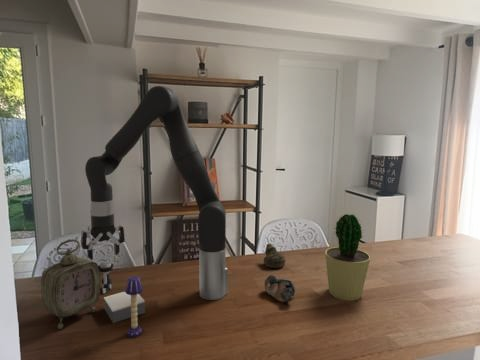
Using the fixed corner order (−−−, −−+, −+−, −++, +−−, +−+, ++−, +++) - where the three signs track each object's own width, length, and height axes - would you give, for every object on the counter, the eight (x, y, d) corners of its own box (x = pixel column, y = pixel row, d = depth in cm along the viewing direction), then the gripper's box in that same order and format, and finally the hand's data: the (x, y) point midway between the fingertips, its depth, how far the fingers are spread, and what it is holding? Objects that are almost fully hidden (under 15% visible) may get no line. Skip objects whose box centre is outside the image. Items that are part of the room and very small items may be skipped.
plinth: (134, 299, 113) (134, 288, 113) (145, 312, 105) (144, 301, 105) (104, 308, 107) (103, 297, 107) (113, 323, 99) (112, 310, 99)
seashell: (282, 245, 151) (260, 246, 150) (288, 239, 141) (265, 239, 140) (284, 271, 147) (262, 271, 145) (290, 266, 136) (267, 266, 135)
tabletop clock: (57, 334, 94) (51, 250, 90) (40, 324, 98) (34, 243, 95) (102, 311, 106) (98, 236, 102) (85, 303, 111) (80, 231, 107)
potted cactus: (369, 288, 124) (374, 210, 119) (365, 307, 110) (372, 220, 105) (327, 280, 130) (331, 206, 126) (319, 297, 116) (323, 214, 112)
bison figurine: (265, 289, 122) (257, 301, 113) (266, 271, 122) (258, 281, 112) (297, 295, 118) (292, 308, 109) (298, 276, 117) (293, 287, 108)
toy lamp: (129, 328, 97) (127, 274, 94) (145, 327, 97) (143, 274, 95) (125, 338, 92) (122, 282, 90) (142, 337, 92) (140, 281, 90)
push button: (111, 294, 117) (110, 267, 116) (95, 294, 116) (94, 268, 115) (116, 285, 124) (114, 260, 122) (101, 286, 123) (99, 260, 121)
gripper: (82, 217, 109) (84, 264, 111) (126, 212, 117) (127, 255, 119) (78, 213, 114) (80, 257, 117) (119, 208, 123) (121, 249, 125)
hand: (104, 256), depth 118 cm, fingers open, 8 cm apart
